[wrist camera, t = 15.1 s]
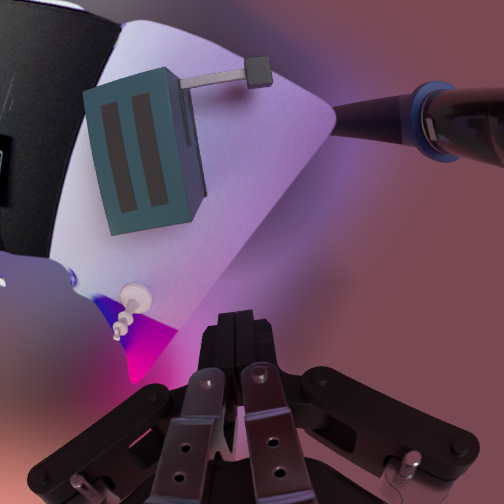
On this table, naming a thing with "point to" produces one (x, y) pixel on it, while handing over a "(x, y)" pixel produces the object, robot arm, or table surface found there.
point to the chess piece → (131, 306)
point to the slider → (237, 75)
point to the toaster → (145, 151)
